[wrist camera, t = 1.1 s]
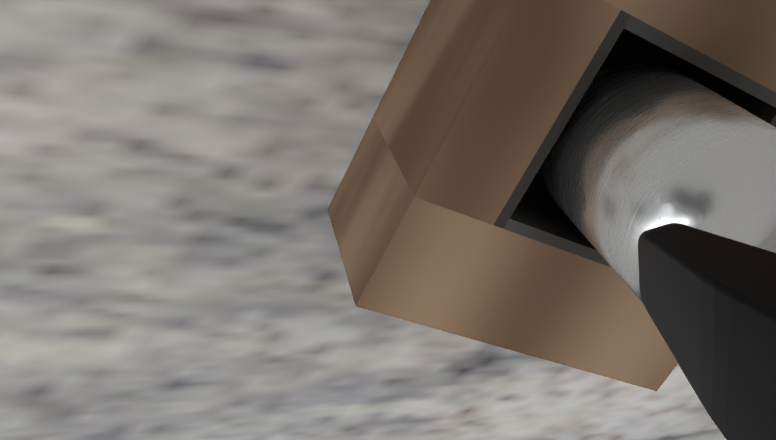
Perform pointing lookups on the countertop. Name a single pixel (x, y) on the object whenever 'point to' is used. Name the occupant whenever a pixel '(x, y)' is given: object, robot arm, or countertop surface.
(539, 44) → the walnut block
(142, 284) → the countertop surface
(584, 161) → the steel peg
